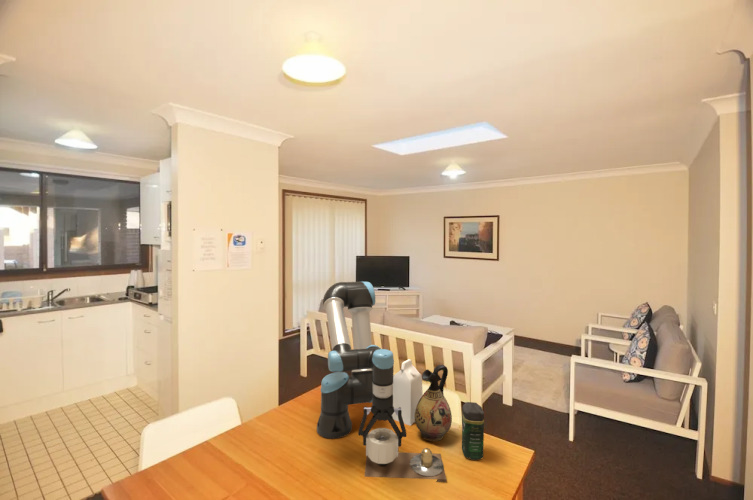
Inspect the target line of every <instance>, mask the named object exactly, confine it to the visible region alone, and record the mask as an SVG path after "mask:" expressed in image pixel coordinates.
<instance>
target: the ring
mask: <svg viewBox="0 0 753 500" xmlns="http://www.w3.org/2000/svg"><path fill="white" fill-rule="evenodd" d="M368 434H369V436H368V457H369V458H370V460H371V461H373V462H375V463H378V464H387V463H390V462H392V461H393V460H394V459H395V458H396V433H395V431H394V430H393V429H390V428H387V427H378V428H375V429H371V430H370V431H369V433H368ZM380 436H385V437H386V439H387V440H386V441H379V440H378V439H379V437H380Z"/></svg>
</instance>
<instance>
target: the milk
mask: <svg viewBox="0 0 753 500" xmlns="http://www.w3.org/2000/svg"><path fill="white" fill-rule="evenodd" d="M423 394H424V392H423V380H422V374H421V373H420V372H419V370H418V369H417V368H416V366H414V365H413V362H412V359H410V358H409V359H407V360H404V361H402V363H401V367H400V370H399V371H397V372H396V373H395V374H393V407H394V408H397V409H398V408H399V407H401V411H402V414H401V415H402V419H403V422H404V425H407V426H410V427H411V426H412V425H413V424H414V423H415V410H416V406H417V404H418V402H419V400H420V398H421V397H422V396H423ZM392 417H393V419H394V421H395V422H396V421H397V422H399V419H398V416H397V415H396V413H395V412H394V413H393V414H392Z"/></svg>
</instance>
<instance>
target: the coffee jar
mask: <svg viewBox="0 0 753 500" xmlns="http://www.w3.org/2000/svg"><path fill="white" fill-rule="evenodd" d="M461 408H462V409H461V411H462V413H461V414H462V415H461V417H462V419H461V421H462V422H461V423H462V424H461V450H462V451H461V452H462V454H463V457H465V458H466V459H469V460H472V461H479V460H482V459H483V458H484V445H485V444H484V443H485V442H484V440H485V439H484V438H485V437H484V436H485V434H484V433H485V412H484V409H483V407H482V406H481V405H479V404H478V403H477V402H472V401H467V402H465V403H464V404H462V407H461Z"/></svg>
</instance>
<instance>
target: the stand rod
mask: <svg viewBox="0 0 753 500" xmlns="http://www.w3.org/2000/svg"><path fill="white" fill-rule="evenodd" d="M378 440H379V441H386V440H387V439H386V437H385V436H380V437H379V439H378ZM378 465H379V466H381V467H384V466H386V465H387V464H378Z"/></svg>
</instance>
